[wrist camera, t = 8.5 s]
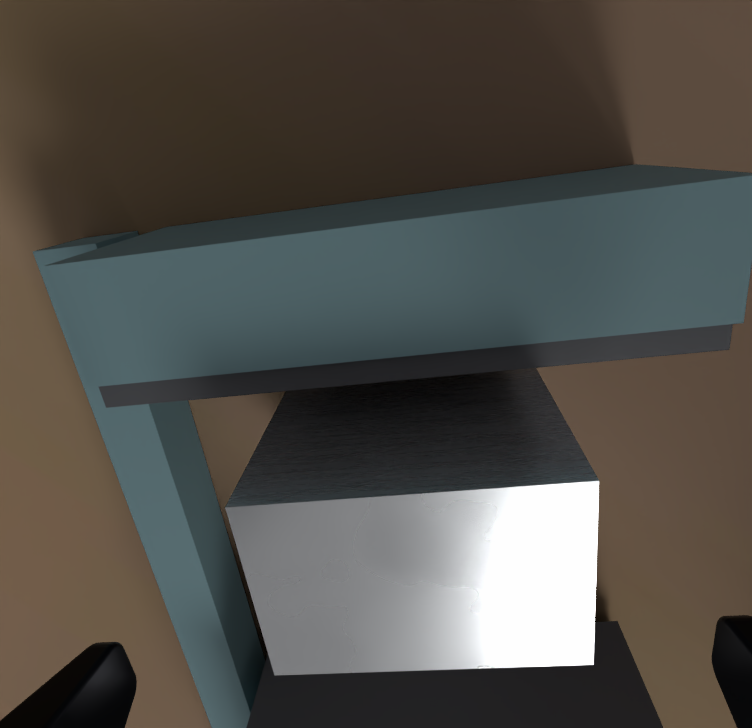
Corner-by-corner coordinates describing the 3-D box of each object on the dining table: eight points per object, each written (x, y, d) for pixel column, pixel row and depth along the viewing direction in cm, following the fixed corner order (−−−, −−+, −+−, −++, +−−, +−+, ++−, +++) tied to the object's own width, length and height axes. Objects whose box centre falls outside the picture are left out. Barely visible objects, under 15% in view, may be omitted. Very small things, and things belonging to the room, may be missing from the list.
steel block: (515, 332, 14) (598, 480, 8) (520, 455, 16) (593, 665, 9) (305, 354, 15) (225, 507, 9) (328, 470, 17) (274, 675, 10)
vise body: (635, 164, 13) (763, 173, 8) (604, 790, 22) (655, 964, 17) (82, 238, 14) (-79, 281, 10) (269, 792, 23) (233, 950, 19)
